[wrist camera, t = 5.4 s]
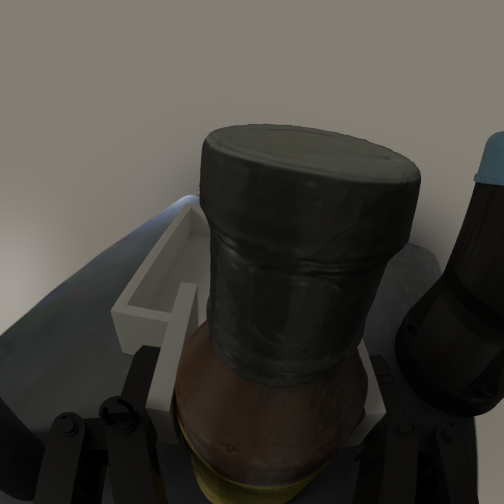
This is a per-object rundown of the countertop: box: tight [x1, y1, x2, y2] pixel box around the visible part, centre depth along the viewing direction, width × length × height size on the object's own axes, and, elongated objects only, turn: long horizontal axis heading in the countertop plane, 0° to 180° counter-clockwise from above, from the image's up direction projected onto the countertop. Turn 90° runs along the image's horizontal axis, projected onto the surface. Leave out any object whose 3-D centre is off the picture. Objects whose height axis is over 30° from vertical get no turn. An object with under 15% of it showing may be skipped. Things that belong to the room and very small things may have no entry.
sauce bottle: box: [174, 124, 421, 504], centre depth 10 cm, size 6×6×20 cm
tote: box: [111, 204, 210, 355], centre depth 32 cm, size 22×14×5 cm, turn 175°
